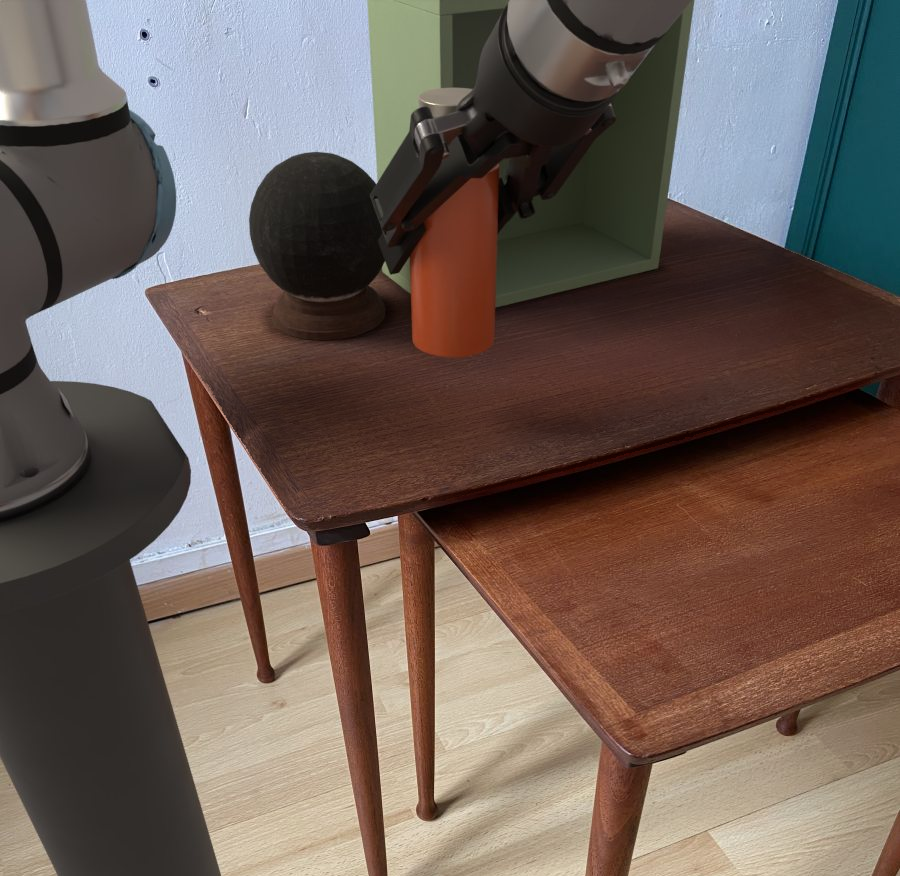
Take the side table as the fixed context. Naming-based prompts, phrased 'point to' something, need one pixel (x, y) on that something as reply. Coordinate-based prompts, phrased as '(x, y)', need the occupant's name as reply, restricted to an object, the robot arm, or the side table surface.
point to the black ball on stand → (319, 246)
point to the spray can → (456, 260)
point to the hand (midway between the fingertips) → (430, 248)
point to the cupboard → (557, 219)
